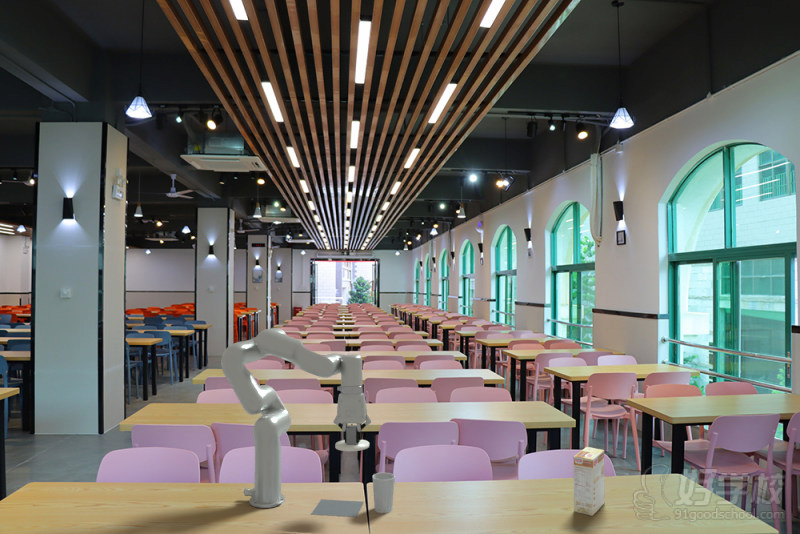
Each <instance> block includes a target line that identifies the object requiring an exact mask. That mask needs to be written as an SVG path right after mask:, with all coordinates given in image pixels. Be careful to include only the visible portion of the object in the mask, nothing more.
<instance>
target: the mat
mask: <svg viewBox="0 0 800 534" xmlns="http://www.w3.org/2000/svg"><path fill="white" fill-rule="evenodd" d="M364 503H365V502H364V501H355V500H339V499H322V498H321V499H320V500H319V502H318V503H317V504H316V506H315V508H314V509H313V511H311V513H310V515H311V516H312V515H313V516H328V517H329V516H330V517H348V518H357V517H358V515H359V513H360V511H361V509H362V508H363V505H364Z"/></svg>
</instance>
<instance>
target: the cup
mask: <svg viewBox="0 0 800 534" xmlns="http://www.w3.org/2000/svg"><path fill="white" fill-rule="evenodd" d="M395 481H396V475H395V474H393V473H391V472H377V473H373V475H372V488H373V502H374V503H373V505H374V509H373V510H374V511H375V512H376V513H380V514H387V513H390V512H392V511H393V503H394V492H395V483H396V482H395Z"/></svg>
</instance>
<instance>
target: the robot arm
mask: <svg viewBox="0 0 800 534" xmlns="http://www.w3.org/2000/svg"><path fill="white" fill-rule="evenodd" d="M303 343H304V342H303V341H302V340H301V339H298V338H295V337H292V336H289V335H287V333H286V331H284V330H283V329H281V328H278V327H273V328H267V329H263V330H261V331H260V332H259V333H258V334H257V335H256V336H255V337H253V338H251V339H248V340H247V339H246V340H244V341H243V340H242V341H237V342H235V343H232V344H230V345H229V346H228V347H226V348H225V350H224V351H223V353H222V357H221V363H220V365H221V369H222V373H223V374H224V376H225V379H226V380H227V381H228V383H229V385H230V386H231V388H232V390H233V393H234V394H235V396H236V398H238V401H239V403H240V405H241V407H242V408H243V410H244V411H245V412H246V413H247V414H248V415H250V416H254V415H259V414H261V416H260V417H258V418H257V420H256V421H255V422H254V425H253V428H252V434H253V435H252V436H253V443H254V486H253V487H252V488H244V490H243V494H244V497H248V496H249V497H250V499H249V505H250V506H253V507H254V508H260V509H268V508H269V509H270V508H274V507H278V506H281V505H282V504H284V503H285V502H286V496H285V495H284V494H282V444H281V440H280V437H281V436H282V435H284V434H285V433H287V432H288V431H289V429H290V428H291V424H292V420H291V419H292V418H291V415H290V414H289V412H288V410H287V408H286V406H285V405H284V403H283V401H282V399H281V397H280V395H279V394H278V392H277V391H276V390H275V389H274V388H273V387H272V386H270V385H267V384H262V385H259V384H258V382H257V380H256V378H255V376H254V375H253V373H252V372H251V371H250V370H249V369H248V368H247V367H246V365H247V364H250V363H253V362H257V361H259V360H261V359H263V358H266V357H268V356H273V357H276V358H279V359H281V360H284V361H287V362H290V363H292V364H293V365H294V366H295V367H297V368H299V369H300V370H301V371H304V372H306V373H308V374H311V375H314V376H316V377H319V378H324V379H326V378H330V377H332V376H335V375H338V374H340V381H341V382H340V385H339V386H337V391H340V393H339V394H338V398H337V399H338V400H337V407H336V409H337V411H336V416H335V418H334V420H333V422H332V423H333V424H335V425H336V426H338V427H339V428H340V429H341V430H342V432H343V435H342V437H343V438H342V439H343V440H345V443H346V427H347V426H348V425H349V424H356V425H357V432H356V443H359V442H360V440H362V430H363V429H364V428H365V427H367V426H369V425H371V423H372V420H371V419H370V417H369V416H368V412H367V411H368V410H367V402H366V394H365V393H364V391H363V358H362V356H361V355H359V354H341V353H329V354H326V355H322V354H319V353H317V352H314V351H312V350H310V349H308V348H306V347H305V345H304V344H303Z"/></svg>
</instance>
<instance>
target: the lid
mask: <svg viewBox="0 0 800 534" xmlns="http://www.w3.org/2000/svg"><path fill="white" fill-rule="evenodd" d="M356 432H357V424H354V425H353V424H350V425H349V424H348V425H347V427H346V443H345V440H339V441H337V442H336V443H335V445H334V446H335V449H336V450H338V451H341V452H358V451H364V450H367V449H368V448H370V442H369V441H368V440H366V439H361V440H360V442H359V443H356Z"/></svg>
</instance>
